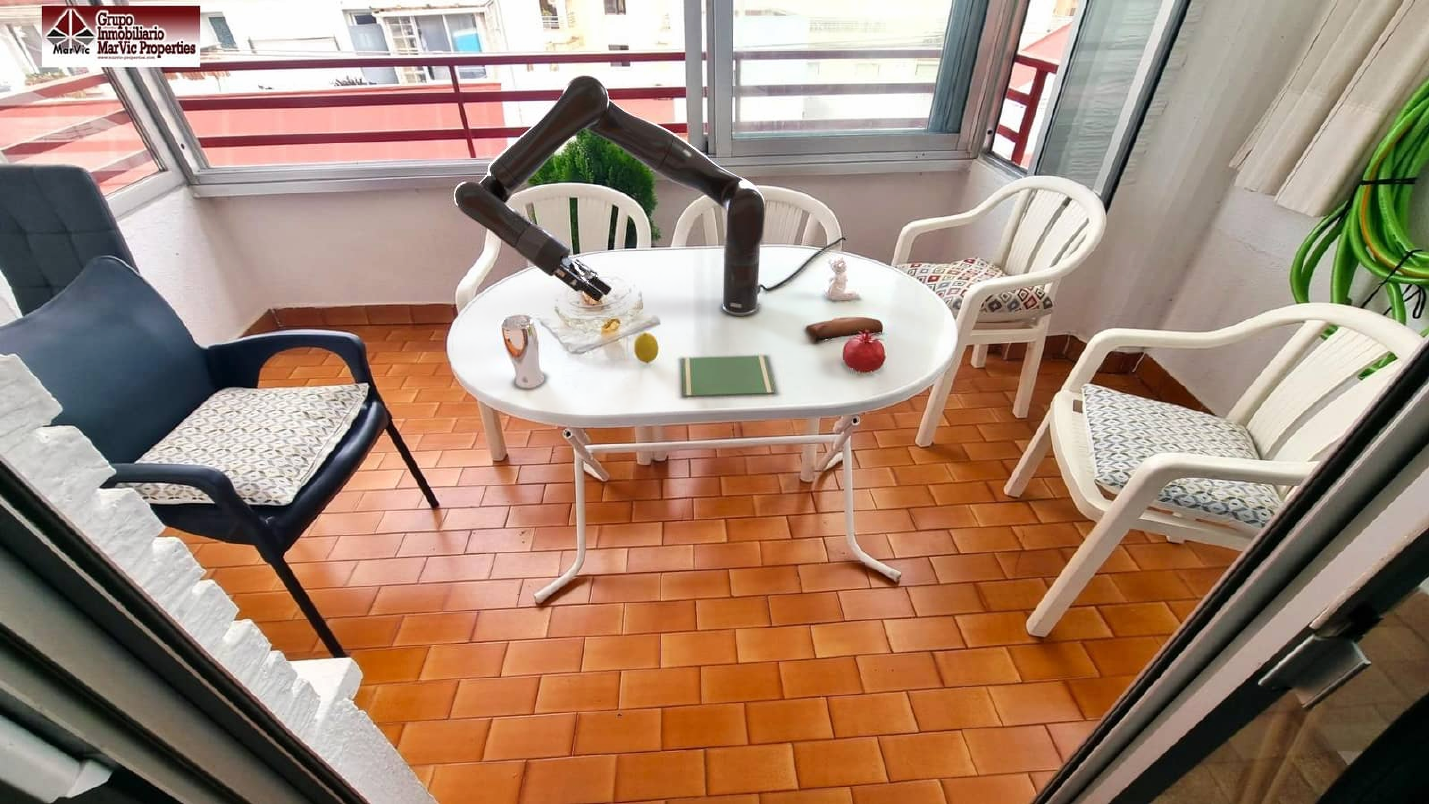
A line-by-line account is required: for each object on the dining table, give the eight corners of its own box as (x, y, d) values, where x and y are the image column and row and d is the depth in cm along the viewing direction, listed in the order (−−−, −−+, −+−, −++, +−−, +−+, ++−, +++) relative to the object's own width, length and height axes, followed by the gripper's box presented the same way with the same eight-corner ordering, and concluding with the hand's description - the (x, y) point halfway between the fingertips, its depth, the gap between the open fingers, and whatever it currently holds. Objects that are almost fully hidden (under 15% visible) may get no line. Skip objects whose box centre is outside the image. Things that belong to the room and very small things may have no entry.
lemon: (655, 370, 133) (653, 340, 129) (632, 367, 134) (629, 337, 130) (662, 357, 138) (660, 328, 133) (639, 355, 139) (637, 326, 134)
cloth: (682, 359, 137) (682, 358, 137) (765, 357, 138) (765, 355, 138) (683, 396, 125) (683, 395, 125) (774, 393, 126) (774, 392, 126)
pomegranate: (856, 382, 130) (863, 346, 124) (832, 360, 137) (837, 325, 132) (892, 372, 133) (900, 337, 128) (867, 351, 140) (873, 317, 135)
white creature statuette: (859, 298, 163) (866, 258, 156) (837, 306, 159) (843, 265, 152) (836, 286, 169) (842, 247, 162) (814, 294, 165) (819, 254, 158)
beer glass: (517, 372, 132) (503, 314, 123) (548, 371, 133) (536, 313, 124) (511, 390, 127) (496, 330, 118) (543, 388, 127) (530, 329, 118)
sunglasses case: (867, 318, 153) (877, 304, 147) (875, 341, 150) (885, 328, 144) (803, 326, 149) (811, 312, 143) (811, 350, 147) (818, 337, 140)
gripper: (541, 237, 117) (607, 285, 120) (561, 233, 130) (620, 276, 133) (522, 267, 119) (588, 314, 122) (544, 260, 132) (603, 302, 135)
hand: (605, 294), depth 128 cm, fingers open, 8 cm apart
